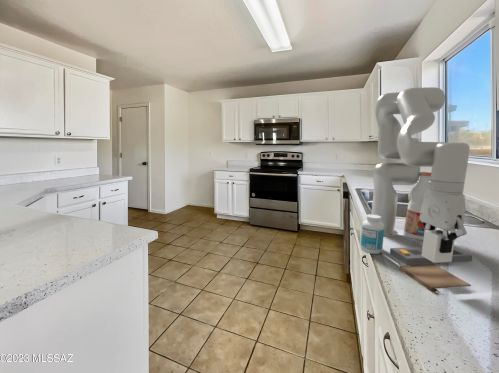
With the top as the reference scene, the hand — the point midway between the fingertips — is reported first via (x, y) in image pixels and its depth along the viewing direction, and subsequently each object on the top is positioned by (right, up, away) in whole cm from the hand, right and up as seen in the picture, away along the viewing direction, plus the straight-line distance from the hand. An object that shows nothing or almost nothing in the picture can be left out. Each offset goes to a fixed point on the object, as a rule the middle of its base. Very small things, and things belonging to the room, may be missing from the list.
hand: (437, 248), depth 72 cm
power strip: (+8, -7, +14) cm, 17 cm away
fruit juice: (+16, -4, +34) cm, 38 cm away
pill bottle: (-9, -6, +21) cm, 24 cm away
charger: (0, -3, +1) cm, 3 cm away
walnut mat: (0, -10, +2) cm, 10 cm away
